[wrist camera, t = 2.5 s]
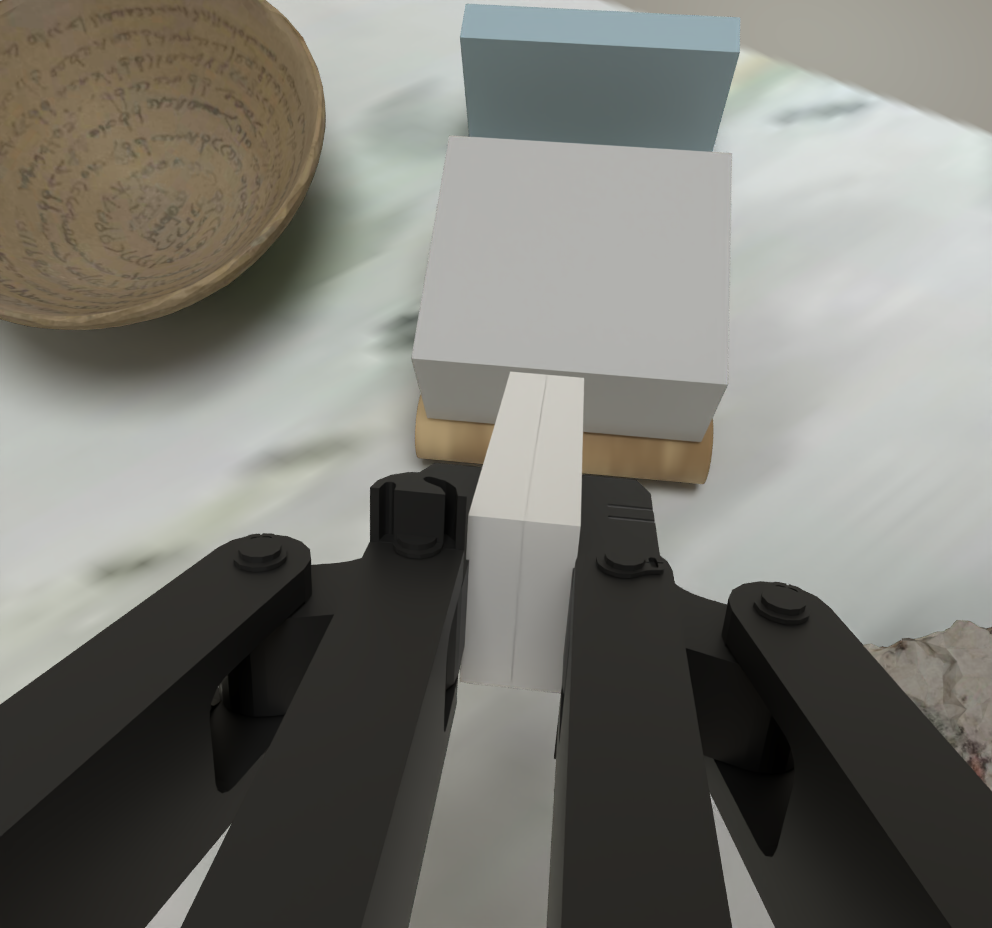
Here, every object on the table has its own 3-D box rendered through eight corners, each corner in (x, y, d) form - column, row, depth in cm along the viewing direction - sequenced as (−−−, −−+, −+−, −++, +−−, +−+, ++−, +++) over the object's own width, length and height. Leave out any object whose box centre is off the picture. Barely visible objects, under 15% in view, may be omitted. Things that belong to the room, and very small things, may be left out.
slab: (707, 233, 38) (732, 153, 33) (701, 442, 34) (727, 384, 30) (458, 216, 39) (449, 135, 34) (427, 417, 35) (411, 358, 30)
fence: (709, 134, 44) (740, 17, 37) (708, 166, 43) (739, 52, 37) (475, 120, 45) (465, 3, 38) (470, 150, 44) (460, 37, 38)
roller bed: (707, 207, 42) (719, 164, 39) (698, 494, 37) (712, 468, 34) (464, 190, 43) (459, 148, 40) (420, 468, 38) (412, 441, 35)
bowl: (426, 289, 41) (403, 175, 34) (62, 476, 38) (-51, 396, 31) (265, 44, 47) (215, -97, 40) (-58, 189, 44) (-176, 65, 37)
